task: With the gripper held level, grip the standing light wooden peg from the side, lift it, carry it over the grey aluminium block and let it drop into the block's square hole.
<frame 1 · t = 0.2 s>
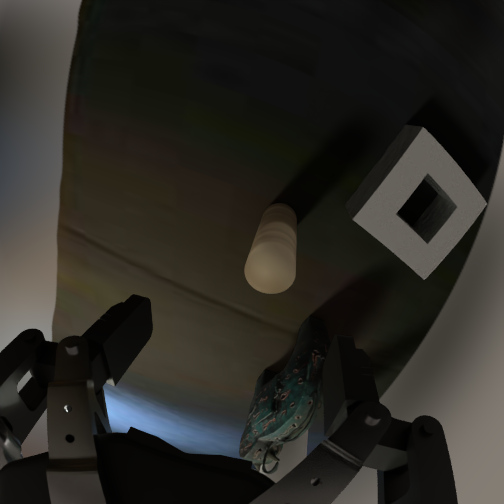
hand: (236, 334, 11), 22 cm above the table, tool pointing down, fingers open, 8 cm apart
bottle: (289, 403, 49), on the table
socket block: (411, 196, 28), on the table
wooden peg: (279, 219, 32), on the table
ceramic cat: (286, 354, 43), on the table
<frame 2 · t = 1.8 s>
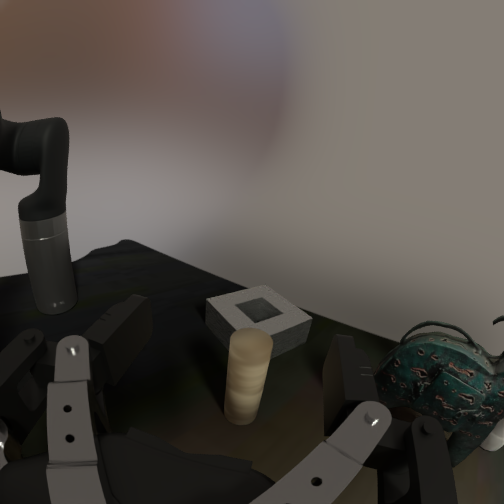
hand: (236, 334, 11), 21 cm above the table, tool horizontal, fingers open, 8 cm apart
bottle: (487, 433, 22), on the table
socket block: (254, 334, 45), on the table
wooden peg: (240, 412, 29), on the table
ceramic cat: (410, 441, 25), on the table
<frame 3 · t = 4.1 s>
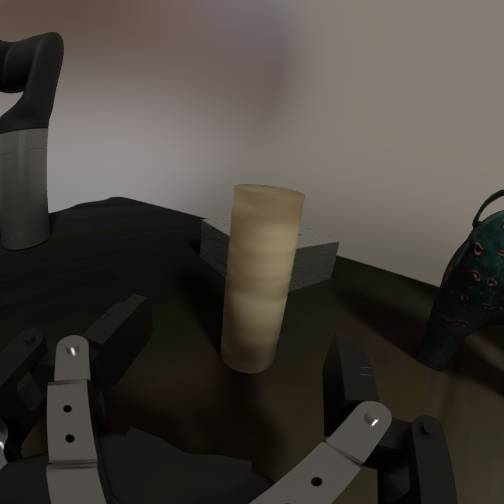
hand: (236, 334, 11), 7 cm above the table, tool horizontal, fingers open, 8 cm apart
socket block: (264, 267, 35), on the table
wooden peg: (247, 354, 20), on the table
ceramic cat: (490, 391, 15), on the table
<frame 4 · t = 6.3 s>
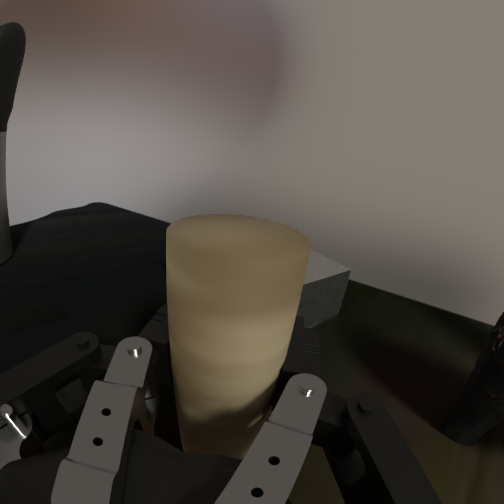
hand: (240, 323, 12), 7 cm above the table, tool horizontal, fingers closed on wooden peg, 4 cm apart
socket block: (253, 301, 27), on the table
wooden peg: (219, 448, 12), on the table, touching gripper
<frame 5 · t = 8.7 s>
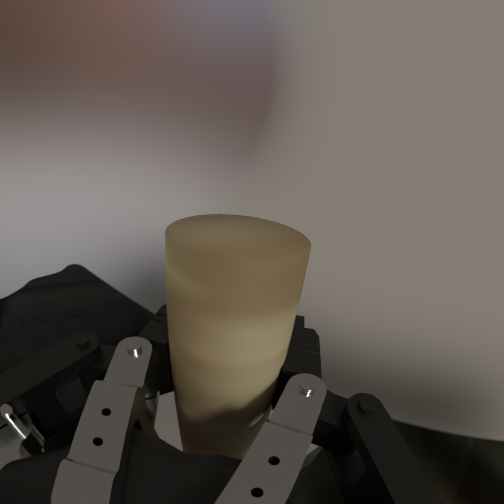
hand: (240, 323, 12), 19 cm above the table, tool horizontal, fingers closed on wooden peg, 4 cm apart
socket block: (228, 450, 22), on the table
wooden peg: (219, 449, 12), point 12 cm above the table, touching gripper
when the fingers open (13 cm above the table, at t = 11.0 s): wooden peg drops 6 cm, resting in socket block.
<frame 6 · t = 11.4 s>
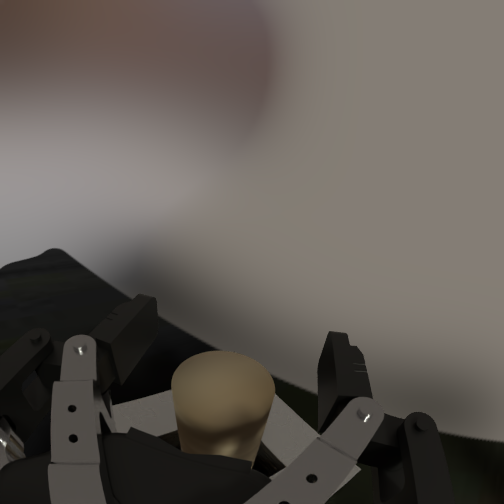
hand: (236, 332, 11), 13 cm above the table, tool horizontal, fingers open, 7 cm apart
socket block: (217, 481, 14), on the table
wooden peg: (216, 482, 14), resting in socket block
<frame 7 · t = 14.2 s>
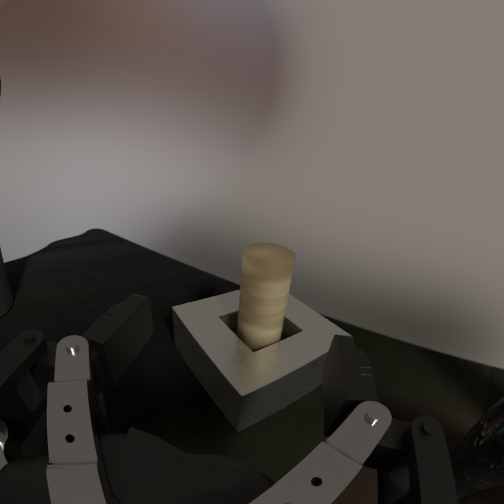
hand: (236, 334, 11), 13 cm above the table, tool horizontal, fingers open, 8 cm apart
socket block: (255, 363, 26), on the table
wooden peg: (254, 363, 26), resting in socket block
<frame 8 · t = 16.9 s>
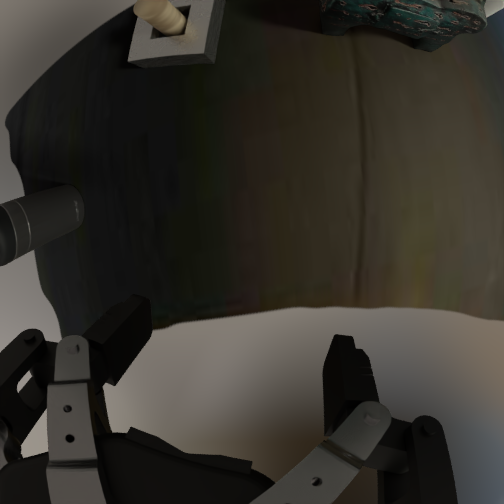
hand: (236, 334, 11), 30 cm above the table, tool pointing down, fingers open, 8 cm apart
bottle: (445, 15, 23), on the table
socket block: (183, 33, 32), on the table
wooden peg: (183, 33, 32), resting in socket block
ceramic cat: (381, 35, 28), on the table
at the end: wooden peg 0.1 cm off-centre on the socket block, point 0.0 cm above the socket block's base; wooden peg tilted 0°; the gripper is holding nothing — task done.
